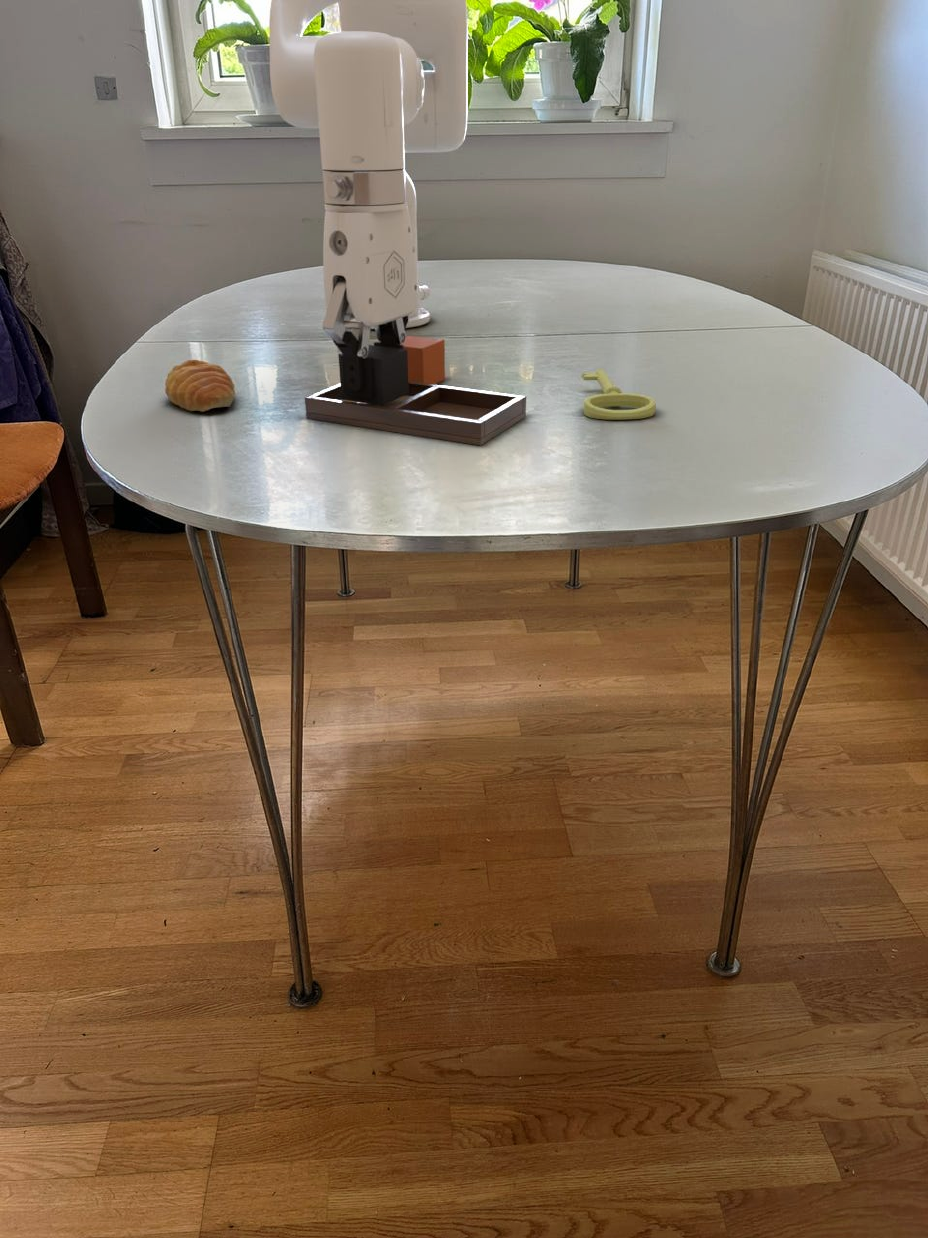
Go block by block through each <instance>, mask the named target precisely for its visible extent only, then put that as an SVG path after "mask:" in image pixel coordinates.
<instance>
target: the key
mask: <svg viewBox="0 0 928 1238" xmlns="http://www.w3.org/2000/svg"><path fill="white" fill-rule="evenodd" d="M581 378H582V380H583V381H597V383H598V384H599V386H600V388H601V390H602V392H603V393H599V394H594V395H591V396H587V397H586V398H585V399H584V402H583V405H582V409H583V415H585V416H586V417H588V418H591V419H597V420H611V421H613V420H617V421H618V420H638V419H645V418H646V419H647V418H650V417H653V416H654V414H655V412H656V409H657V405H656V401H655V399H653V398H652V397H651V396H647V395H644V394H639V393H624V392H622V390H621V388H620V387H617V386H615V385H613V383H612V381H611V379H610V377H609V376H608V374H607V373H606V370H604V369H602V368H599V369H597V370H596V371H595V372H581ZM609 407H610V408H611V407H629V408H634V409H621V410H620V409H609ZM607 408H608V409H607Z"/></svg>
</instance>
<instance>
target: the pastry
mask: <svg viewBox="0 0 928 1238" xmlns="http://www.w3.org/2000/svg"><path fill="white" fill-rule="evenodd" d="M164 384H165V389H164V391H165V394H166V396H167V398H168V399H169V400H170V402H171V403H173V404H174V405H176V406H179V407H180V408H181V409H185V410H186V411H189V412H195V411H197V412H198V411H199V412H201V413H203V412H206V411H210V410H211V409H214V408H215V409H216V408H226V407H228V408H230V407H231V404H232V403H233V402H234V401H233V400H234V399H235V395H236V389H235V384H234V381H233V379H232V378H231V376H230V375H229V374H228V373H227V371H226V370H225V369H224V368H223V367H221V366H220V365H218V364H214V363H209V362H207V361H204V360H199V359H187V360H185V361H183V362H181V363H180V364H179V365H174V366H173V367H172V369H171V370H170V371H169V372H168V374H167V377H166V379H165V383H164Z"/></svg>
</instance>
